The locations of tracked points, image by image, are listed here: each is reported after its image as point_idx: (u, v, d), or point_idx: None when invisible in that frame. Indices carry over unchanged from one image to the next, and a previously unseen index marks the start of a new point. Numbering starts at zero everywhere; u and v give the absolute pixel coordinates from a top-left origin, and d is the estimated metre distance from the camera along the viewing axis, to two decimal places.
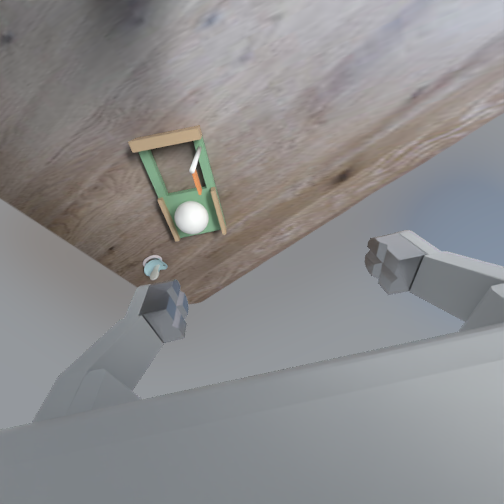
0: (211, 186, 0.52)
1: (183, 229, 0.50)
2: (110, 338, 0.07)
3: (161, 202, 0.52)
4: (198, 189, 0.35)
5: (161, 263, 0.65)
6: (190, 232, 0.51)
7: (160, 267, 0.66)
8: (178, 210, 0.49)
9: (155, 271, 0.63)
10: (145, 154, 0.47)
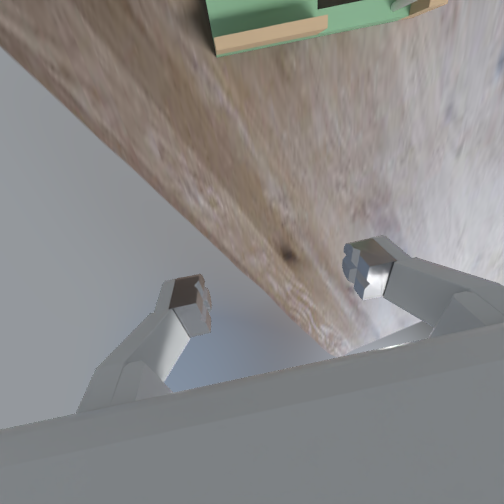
0: None
1: None
2: (143, 331, 0.07)
3: None
4: None
5: None
6: None
7: None
8: None
9: None
10: None
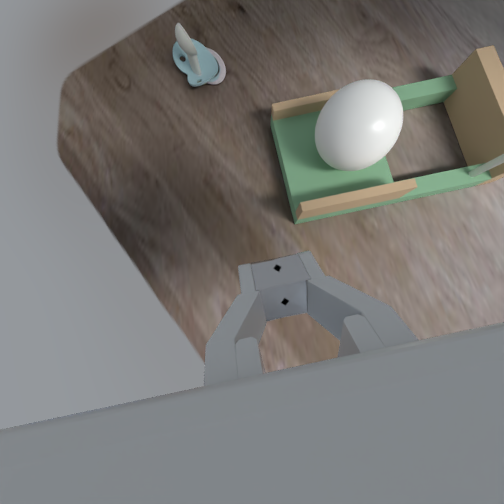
0: None
1: (358, 85, 0.19)
2: (239, 311, 0.07)
3: None
4: None
5: (205, 77, 0.29)
6: (346, 101, 0.19)
7: (193, 75, 0.29)
8: None
9: (194, 47, 0.26)
10: (445, 85, 0.27)
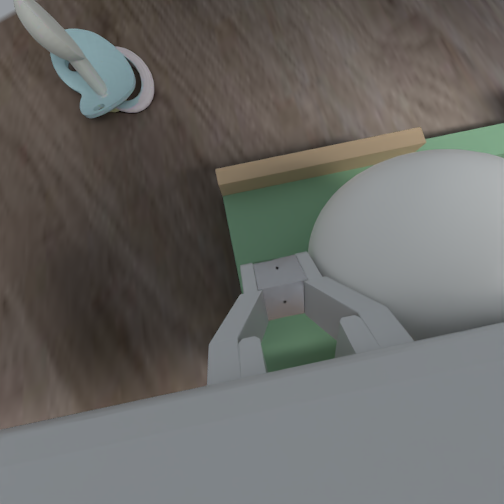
0: None
1: (462, 177, 0.06)
2: (242, 310, 0.07)
3: (413, 140, 0.12)
4: None
5: (111, 100, 0.16)
6: (425, 230, 0.05)
7: (91, 97, 0.16)
8: None
9: (72, 44, 0.13)
10: None
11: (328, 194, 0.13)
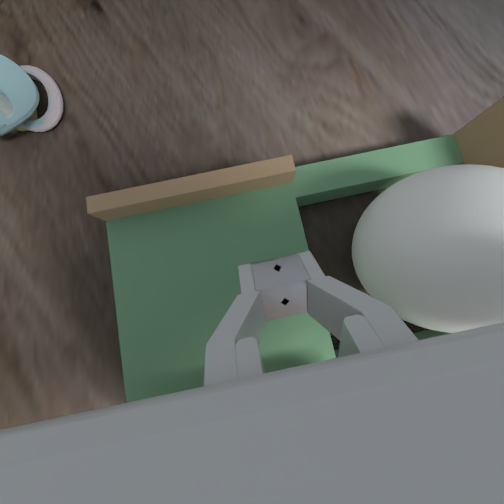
0: None
1: None
2: (239, 311, 0.07)
3: (283, 168, 0.12)
4: None
5: (13, 121, 0.16)
6: None
7: None
8: None
9: None
10: (442, 154, 0.14)
11: (210, 219, 0.13)
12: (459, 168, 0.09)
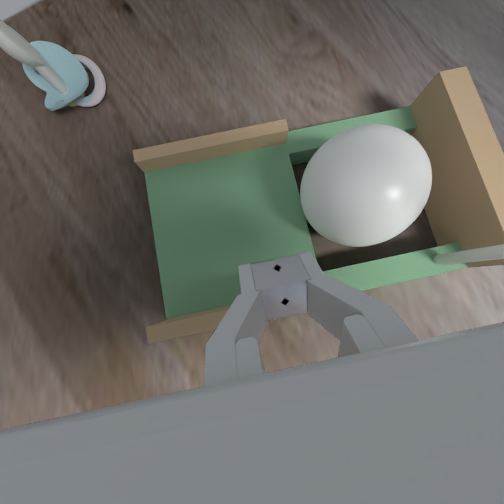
0: None
1: None
2: (239, 311, 0.07)
3: (279, 129, 0.17)
4: None
5: (69, 97, 0.20)
6: None
7: (54, 94, 0.20)
8: None
9: (33, 54, 0.17)
10: (400, 121, 0.18)
11: (224, 170, 0.18)
12: (335, 136, 0.14)
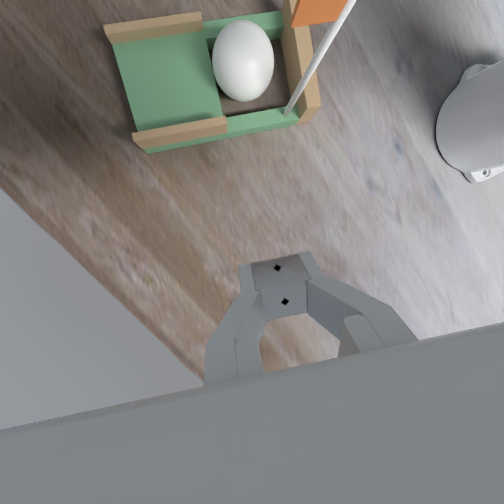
0: (227, 126, 0.31)
1: None
2: (240, 311, 0.07)
3: (196, 18, 0.27)
4: None
5: None
6: None
7: None
8: None
9: None
10: (274, 21, 0.30)
11: (165, 47, 0.28)
12: None
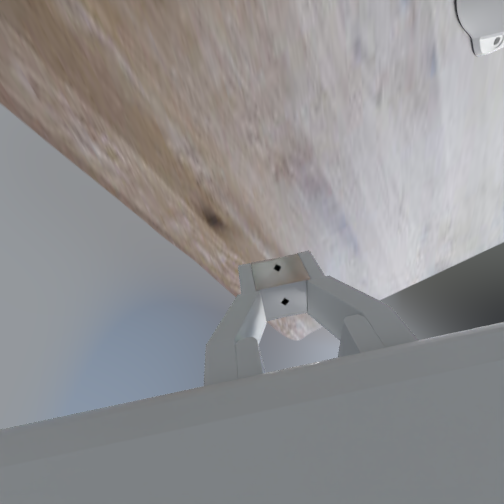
0: None
1: None
2: (239, 311, 0.07)
3: None
4: None
5: None
6: None
7: None
8: None
9: None
10: None
11: None
12: None
